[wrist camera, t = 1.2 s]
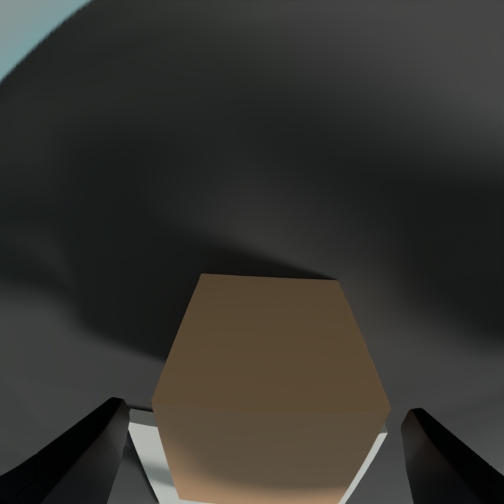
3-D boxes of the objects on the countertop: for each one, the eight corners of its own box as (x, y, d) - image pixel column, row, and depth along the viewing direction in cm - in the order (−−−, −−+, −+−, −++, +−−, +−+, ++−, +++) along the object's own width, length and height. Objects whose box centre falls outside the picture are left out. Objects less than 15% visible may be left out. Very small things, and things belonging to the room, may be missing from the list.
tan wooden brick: (337, 280, 12) (391, 409, 6) (318, 379, 14) (338, 504, 8) (201, 273, 12) (150, 402, 6) (205, 375, 14) (179, 499, 8)
